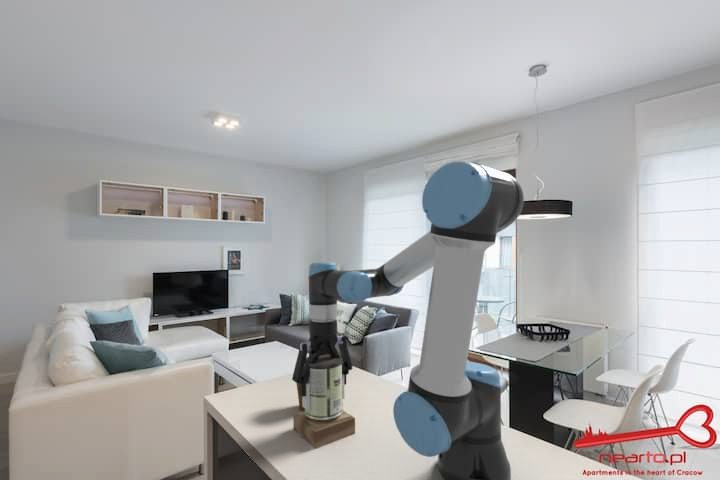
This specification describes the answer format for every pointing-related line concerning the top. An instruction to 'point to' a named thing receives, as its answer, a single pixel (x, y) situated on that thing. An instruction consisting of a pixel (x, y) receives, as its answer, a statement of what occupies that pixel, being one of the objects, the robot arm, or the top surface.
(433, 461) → the top surface
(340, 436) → the stand
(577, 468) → the top surface
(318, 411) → the coffee can
